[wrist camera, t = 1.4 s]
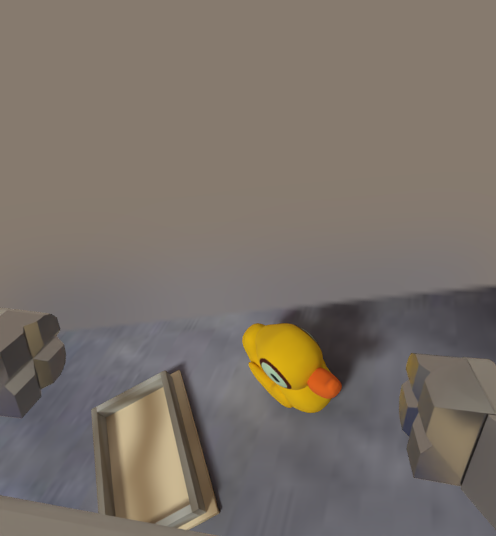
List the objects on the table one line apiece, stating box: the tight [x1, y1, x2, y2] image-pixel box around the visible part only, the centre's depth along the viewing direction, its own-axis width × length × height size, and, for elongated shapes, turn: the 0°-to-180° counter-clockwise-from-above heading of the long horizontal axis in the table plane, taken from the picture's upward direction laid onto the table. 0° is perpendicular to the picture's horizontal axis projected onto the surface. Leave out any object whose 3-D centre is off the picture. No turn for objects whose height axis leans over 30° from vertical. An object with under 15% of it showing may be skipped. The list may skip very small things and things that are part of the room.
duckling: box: [242, 323, 342, 413], centre depth 33 cm, size 11×5×10 cm, turn 43°
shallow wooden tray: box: [91, 370, 219, 530], centre depth 36 cm, size 10×14×2 cm
